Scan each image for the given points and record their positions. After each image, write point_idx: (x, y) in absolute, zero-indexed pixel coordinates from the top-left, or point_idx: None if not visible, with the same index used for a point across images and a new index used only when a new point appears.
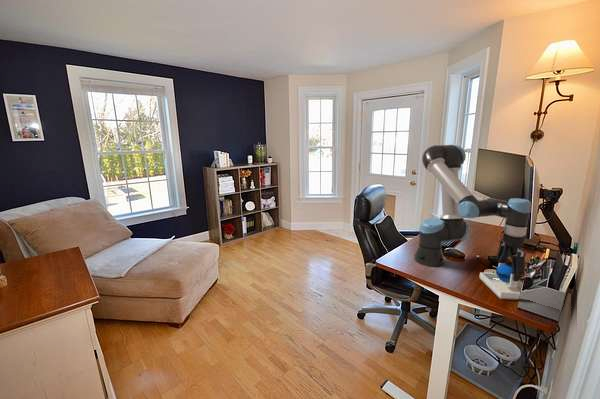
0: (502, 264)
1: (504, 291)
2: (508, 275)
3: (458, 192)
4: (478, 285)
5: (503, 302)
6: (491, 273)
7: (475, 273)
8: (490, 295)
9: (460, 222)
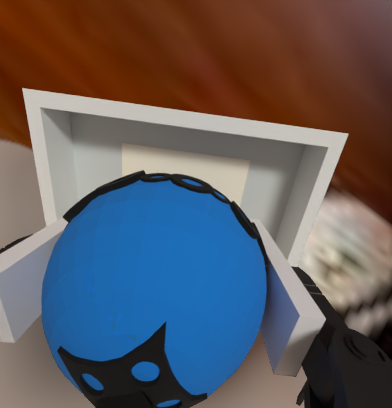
0: (282, 333)
1: (131, 172)
2: (62, 233)
3: None
4: (221, 53)
5: None
6: (309, 214)
7: (378, 149)
8: (92, 55)
9: None
